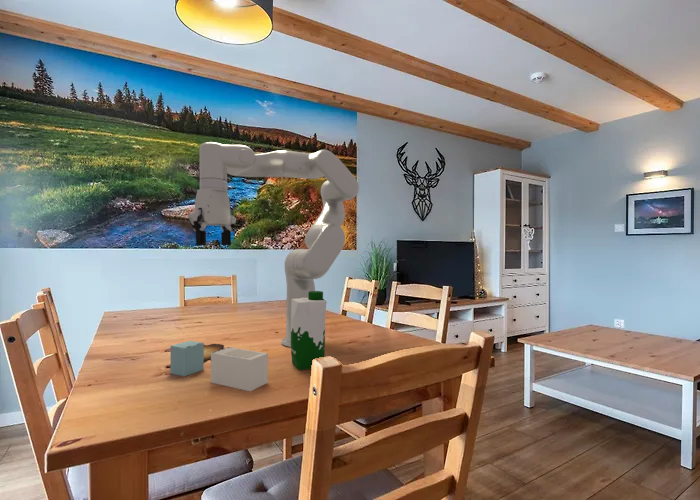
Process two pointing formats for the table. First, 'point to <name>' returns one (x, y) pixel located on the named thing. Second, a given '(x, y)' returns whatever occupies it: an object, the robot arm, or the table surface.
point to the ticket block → (239, 368)
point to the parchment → (210, 350)
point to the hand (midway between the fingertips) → (214, 245)
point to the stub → (187, 358)
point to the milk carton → (307, 329)
